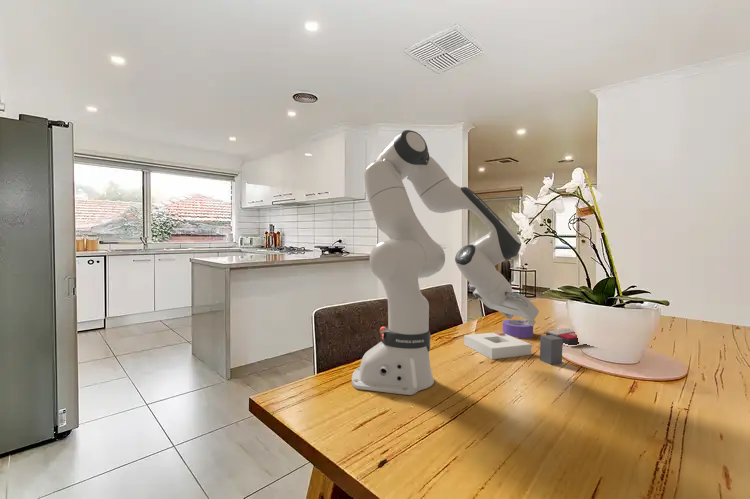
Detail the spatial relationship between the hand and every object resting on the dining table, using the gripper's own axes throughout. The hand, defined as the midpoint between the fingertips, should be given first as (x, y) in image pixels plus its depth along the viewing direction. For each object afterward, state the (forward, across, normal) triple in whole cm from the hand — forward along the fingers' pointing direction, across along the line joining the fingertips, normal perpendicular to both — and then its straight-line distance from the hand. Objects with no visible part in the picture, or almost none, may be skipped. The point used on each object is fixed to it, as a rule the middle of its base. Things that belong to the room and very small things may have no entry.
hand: (521, 320), depth 107 cm
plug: (+18, 0, +2) cm, 19 cm away
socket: (+12, +15, +8) cm, 21 cm away
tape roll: (+28, +29, -7) cm, 41 cm away
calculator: (+38, +15, -17) cm, 44 cm away
